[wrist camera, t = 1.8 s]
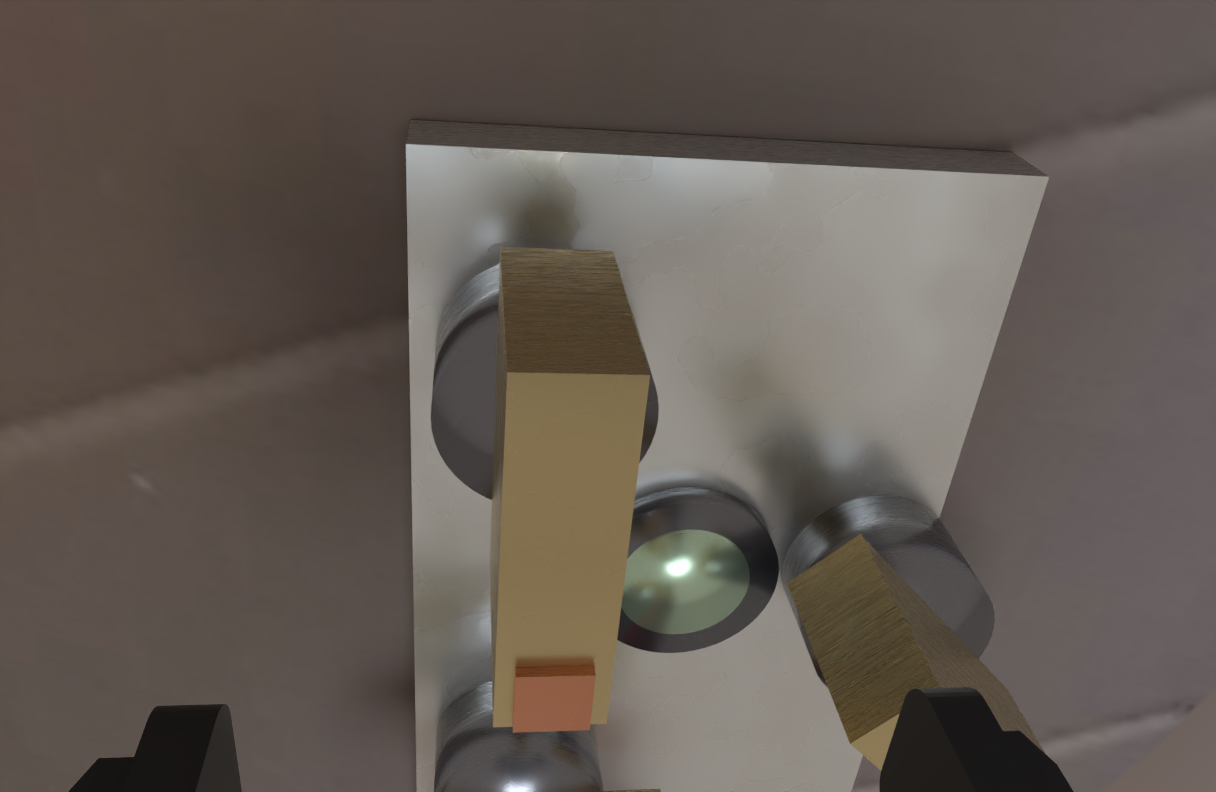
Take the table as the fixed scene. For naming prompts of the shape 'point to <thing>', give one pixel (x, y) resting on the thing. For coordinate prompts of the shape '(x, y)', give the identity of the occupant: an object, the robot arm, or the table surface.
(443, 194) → the level plate
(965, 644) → the yellow paddle knob
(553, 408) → the knob
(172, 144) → the table surface
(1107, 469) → the table surface
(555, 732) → the knob
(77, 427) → the table surface
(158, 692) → the table surface
